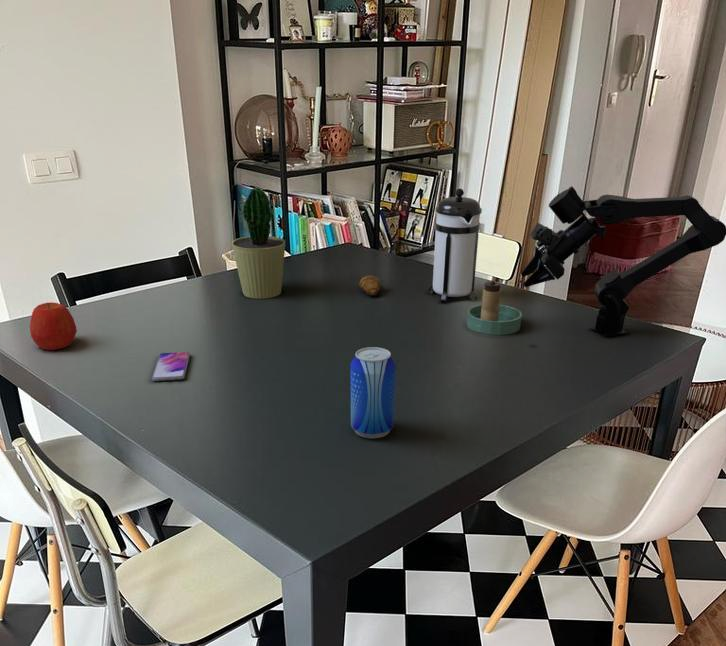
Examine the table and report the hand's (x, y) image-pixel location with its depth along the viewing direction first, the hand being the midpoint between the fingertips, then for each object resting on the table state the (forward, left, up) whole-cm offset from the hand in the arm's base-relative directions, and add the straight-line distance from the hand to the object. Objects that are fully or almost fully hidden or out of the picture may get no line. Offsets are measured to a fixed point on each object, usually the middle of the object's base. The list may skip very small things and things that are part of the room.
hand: (522, 280), depth 187 cm
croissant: (+22, -45, -13) cm, 51 cm away
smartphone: (+89, -11, -13) cm, 90 cm away
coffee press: (+2, -32, -13) cm, 34 cm away
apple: (+112, -37, -13) cm, 118 cm away
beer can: (+60, +36, -13) cm, 71 cm away
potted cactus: (+52, -57, -13) cm, 78 cm away
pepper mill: (+6, -4, -12) cm, 14 cm away
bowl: (+5, -3, -13) cm, 14 cm away
